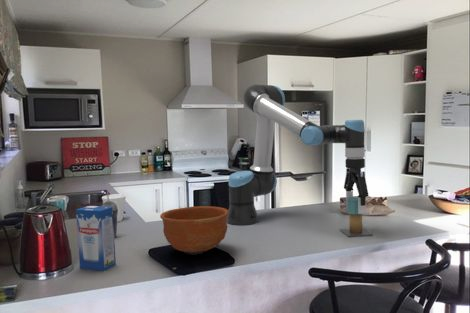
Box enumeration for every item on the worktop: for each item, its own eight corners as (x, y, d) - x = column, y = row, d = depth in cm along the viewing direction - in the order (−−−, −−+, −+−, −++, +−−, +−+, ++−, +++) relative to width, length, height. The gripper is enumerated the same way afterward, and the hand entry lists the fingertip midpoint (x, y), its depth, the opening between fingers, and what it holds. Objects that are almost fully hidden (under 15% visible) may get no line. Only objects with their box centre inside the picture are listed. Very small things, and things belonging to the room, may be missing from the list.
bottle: (348, 237, 159) (347, 205, 158) (339, 230, 169) (339, 201, 168) (372, 235, 160) (372, 204, 159) (362, 229, 170) (362, 200, 169)
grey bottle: (103, 240, 166) (100, 193, 165) (100, 236, 173) (97, 190, 171) (121, 238, 170) (118, 191, 168) (117, 234, 176) (115, 189, 175)
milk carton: (79, 268, 135) (75, 209, 133) (92, 262, 140) (88, 205, 139) (104, 271, 131) (100, 210, 129) (116, 264, 137) (112, 206, 135)
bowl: (172, 269, 131) (169, 223, 130) (155, 248, 154) (153, 209, 152) (241, 256, 141) (239, 214, 139) (215, 238, 163) (214, 202, 162)
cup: (130, 220, 201) (129, 196, 200) (107, 224, 194) (105, 199, 194) (123, 216, 211) (121, 193, 210) (100, 220, 204) (98, 196, 203)
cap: (350, 214, 160) (350, 200, 160) (344, 211, 167) (344, 196, 167) (367, 213, 161) (367, 199, 160) (360, 210, 168) (360, 196, 167)
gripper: (377, 160, 150) (377, 216, 152) (352, 155, 175) (353, 203, 177) (357, 161, 150) (358, 217, 151) (335, 156, 174) (336, 204, 176)
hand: (355, 209), depth 164 cm, fingers open, 13 cm apart
